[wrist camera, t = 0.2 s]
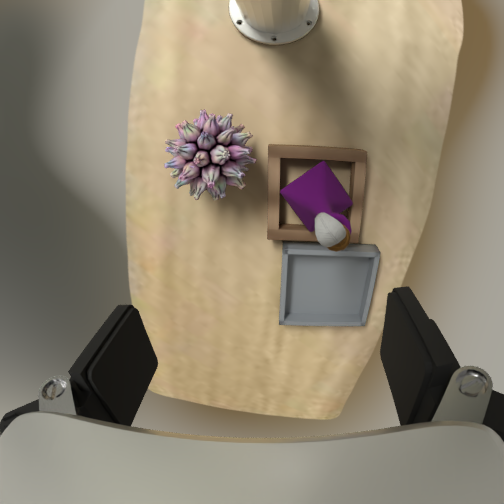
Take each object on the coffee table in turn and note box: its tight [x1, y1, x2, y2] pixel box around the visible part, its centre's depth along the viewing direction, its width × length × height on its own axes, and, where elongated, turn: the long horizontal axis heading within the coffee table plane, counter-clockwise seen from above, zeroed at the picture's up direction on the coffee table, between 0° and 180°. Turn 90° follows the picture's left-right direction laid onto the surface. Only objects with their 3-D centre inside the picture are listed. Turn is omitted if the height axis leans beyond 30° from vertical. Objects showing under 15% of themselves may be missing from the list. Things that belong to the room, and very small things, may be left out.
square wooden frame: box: [267, 144, 367, 243], centre depth 43 cm, size 14×14×2 cm
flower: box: [164, 109, 257, 200], centre depth 37 cm, size 12×12×12 cm
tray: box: [279, 241, 380, 326], centre depth 49 cm, size 14×15×3 cm
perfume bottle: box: [280, 161, 353, 252], centre depth 36 cm, size 8×8×18 cm
